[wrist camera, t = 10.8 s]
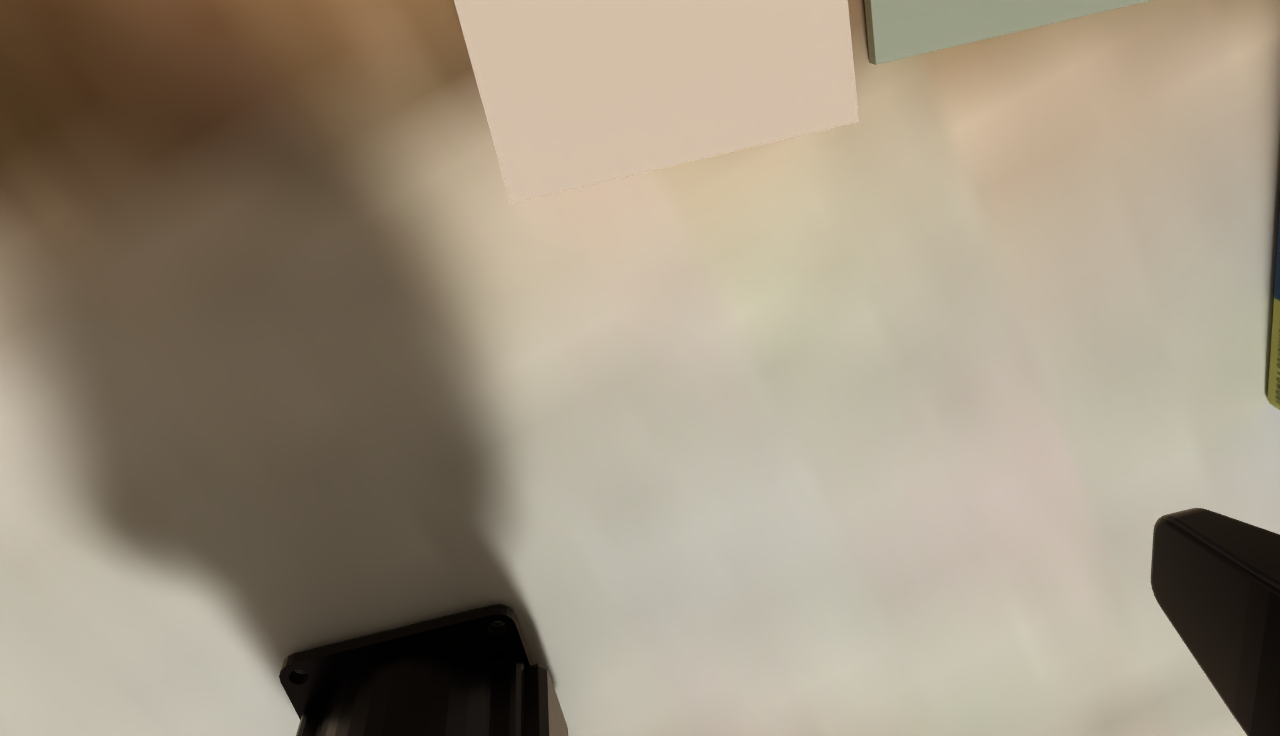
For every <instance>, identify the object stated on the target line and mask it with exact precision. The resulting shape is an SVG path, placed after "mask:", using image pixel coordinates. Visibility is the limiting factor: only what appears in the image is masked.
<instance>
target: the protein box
mask: <svg viewBox="0 0 1280 736" xmlns="http://www.w3.org/2000/svg"><path fill="white" fill-rule="evenodd" d="M1268 401H1269V403H1270V404H1271V405H1273V406H1274V407H1276V408H1277V409H1279V410H1280V212H1279V227H1278V243H1277V258H1276V273H1275V290H1274V307H1273V323H1272V338H1271V354H1270V370H1269V384H1268Z"/></svg>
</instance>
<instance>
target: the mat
mask: <svg viewBox="0 0 1280 736" xmlns="http://www.w3.org/2000/svg"><path fill="white" fill-rule="evenodd" d="M1146 1H1151V0H864V4H865V16H866V27H867V39H868V50H869V62H870V63H872V64H875V65H877V64H882V63H886V62H890V61H894V60H899V59H903V58H907V57H911V56H916V55H920V54H924V53H929V52H933V51H937V50H941V49H946V48H950V47H954V46H958V45H963V44H967V43H971V42H976V41H980V40H984V39H988V38H993V37H997V36H1001V35H1005V34H1010V33H1014V32H1018V31H1022V30H1027V29H1031V28H1035V27H1040V26H1044V25H1048V24H1052V23H1057V22H1061V21H1065V20H1069V19H1074V18H1078V17H1082V16H1086V15H1091V14H1095V13H1099V12H1104V11H1108V10H1112V9H1116V8H1121V7H1125V6H1129V5H1133V4H1138V3H1142V2H1146Z"/></svg>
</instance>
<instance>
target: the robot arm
mask: <svg viewBox="0 0 1280 736" xmlns="http://www.w3.org/2000/svg"><path fill="white" fill-rule="evenodd" d="M1151 585H1152V590H1153V593H1154V596H1155V598H1156V600H1157V602H1158V604H1159V605H1160V607H1161V608H1162V610H1163V611H1164V613H1165V614H1166V616H1167V617H1168V619H1169V620H1170V622H1171V623H1172V625H1173V626H1174V628H1175V629H1176V631H1177V632H1178V634H1179V635H1180V637H1181V638H1182V640H1183V641H1184V643H1185V644H1186V646H1187V647H1188V649H1189V650H1190V652H1191V653H1192V655H1193V656H1194V658H1195V659H1196V661H1197V662H1198V664H1199V665H1200V667H1201V668H1202V670H1203V671H1204V673H1205V674H1206V676H1207V677H1208V679H1209V680H1210V682H1211V683H1212V685H1213V686H1214V688H1215V689H1216V691H1217V692H1218V694H1219V695H1220V697H1221V698H1222V700H1223V701H1224V703H1225V704H1226V706H1227V707H1228V709H1229V710H1230V712H1231V713H1232V715H1233V716H1234V717H1235V719H1236V720H1237V722H1238V723H1239V724H1240V726H1241V727H1242V729H1243V730H1244V731H1245V733H1246V734H1247V736H1280V535H1279V534H1276V533H1273V532H1270V531H1268V530H1265V529H1262V528H1259V527H1256V526H1253V525H1250V524H1247V523H1244V522H1241V521H1239V520H1236V519H1233V518H1230V517H1227V516H1224V515H1221V514H1218V513H1215V512H1213V511H1210V510H1206V509H1203V508H1192V509H1188V510H1184V511H1180V512H1176V513H1172V514H1168V515H1164V516H1162V517H1160V518H1159V519H1158V520H1157V522H1156V524H1155V526H1154V533H1153V549H1152V564H1151ZM495 621H501V622H503V623H505V624H503V625H501V626H495V625H492V624H491V623H493V622H495ZM295 670H301V671H304V672H306V674H300V673H297V672H295ZM279 678H280V682H281V684H282V686H283V688H284V689H285V691H286V693H287V695H288V697H289V699H290V701H291V703H292V705H293V707H294V709H295V711H296V712H297V714H298V716H299V718H300V724H299V727H298V731H297V734H296V736H568V728H567V724H566V722H565V719H564V716H563V713H562V710H561V707H560V704H559V701H558V698H557V695H556V692H555V689H554V686H553V683H552V680H551V677H550V674H549V671H548V669H547V668H545V667H544V666H543V665H541V664H540V663H538V664H534V665H533V662H532V659H531V656H530V653H529V651H528V648H527V645H526V642H525V639H524V636H523V633H522V630H521V628H520V625H519V622H518V619H517V616H516V614H515V612H514V611H513V609H511V608H510V607H508V606H506V605H502V604H497V605H490V606H486V607H482V608H478V609H474V610H470V611H466V612H462V613H458V614H454V615H449V616H445V617H441V618H437V619H433V620H429V621H425V622H421V623H417V624H413V625H409V626H404V627H400V628H396V629H392V630H388V631H384V632H380V633H376V634H372V635H368V636H363V637H359V638H355V639H351V640H347V641H343V642H339V643H335V644H331V645H327V646H323V647H318V648H314V649H310V650H306V651H302V652H298V653H294V654H292V655H290V656H288V657H287V658H286V659H285V660H284V663H283V666H282V669H281V672H280V675H279Z"/></svg>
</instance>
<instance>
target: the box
mask: <svg viewBox="0 0 1280 736" xmlns="http://www.w3.org/2000/svg"><path fill="white" fill-rule="evenodd" d="M454 2H455V6H456V9H457V13H458V17H459V20H460V24H461V27H462V31H463V35H464V38H465V42H466V45H467V49H468V53H469V56H470V60H471V63H472V67H473V71H474V74H475V78H476V81H477V85H478V89H479V92H480V96H481V100H482V103H483V107H484V110H485V114H486V118H487V121H488V125H489V128H490V132H491V136H492V139H493V143H494V146H495V150H496V154H497V157H498V161H499V164H500V168H501V172H502V175H503V179H504V183H505V186H506V190H507V193H508V197H509V201H510V204H513V203H517V202H522V201H526V200H530V199H534V198H539V197H543V196H547V195H551V194H556V193H560V192H564V191H568V190H573V189H577V188H581V187H585V186H590V185H594V184H598V183H602V182H607V181H611V180H615V179H619V178H624V177H628V176H632V175H636V174H641V173H645V172H649V171H653V170H658V169H662V168H666V167H670V166H675V165H679V164H683V163H687V162H691V161H696V160H700V159H704V158H708V157H713V156H717V155H721V154H725V153H730V152H734V151H738V150H742V149H747V148H751V147H755V146H759V145H764V144H768V143H772V142H776V141H781V140H785V139H789V138H793V137H798V136H802V135H806V134H810V133H815V132H819V131H823V130H827V129H832V128H836V127H840V126H844V125H849V124H853V123H857V122H859V116H858V105H857V94H856V84H855V73H854V63H853V52H852V41H851V31H850V20H849V10H848V0H454Z"/></svg>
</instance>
